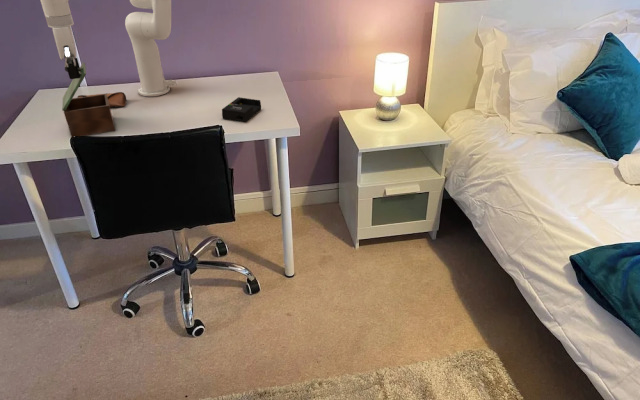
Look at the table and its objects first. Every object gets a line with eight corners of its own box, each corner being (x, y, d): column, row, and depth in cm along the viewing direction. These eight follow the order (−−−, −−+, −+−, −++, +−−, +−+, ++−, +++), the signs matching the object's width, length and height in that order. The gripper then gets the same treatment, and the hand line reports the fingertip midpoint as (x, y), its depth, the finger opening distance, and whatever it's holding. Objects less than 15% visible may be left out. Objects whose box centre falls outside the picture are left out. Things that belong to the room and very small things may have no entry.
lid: (85, 63, 167) (68, 54, 164) (86, 74, 157) (68, 64, 154) (64, 98, 170) (47, 90, 167) (64, 111, 160) (46, 103, 157)
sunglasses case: (75, 111, 184) (72, 93, 183) (80, 113, 190) (77, 97, 190) (125, 106, 188) (122, 89, 187) (128, 109, 194) (125, 92, 194)
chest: (112, 117, 180) (106, 93, 175) (115, 130, 170) (108, 105, 165) (71, 123, 175) (64, 99, 170) (71, 137, 166) (63, 112, 160)
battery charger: (245, 123, 175) (244, 112, 173) (222, 119, 178) (221, 109, 176) (261, 109, 185) (260, 100, 183) (239, 106, 188) (238, 96, 186)
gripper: (47, 15, 158) (63, 68, 167) (45, 27, 144) (62, 83, 154) (72, 13, 160) (86, 65, 170) (72, 25, 147) (87, 80, 156)
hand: (75, 74), depth 162 cm, fingers open, 8 cm apart
